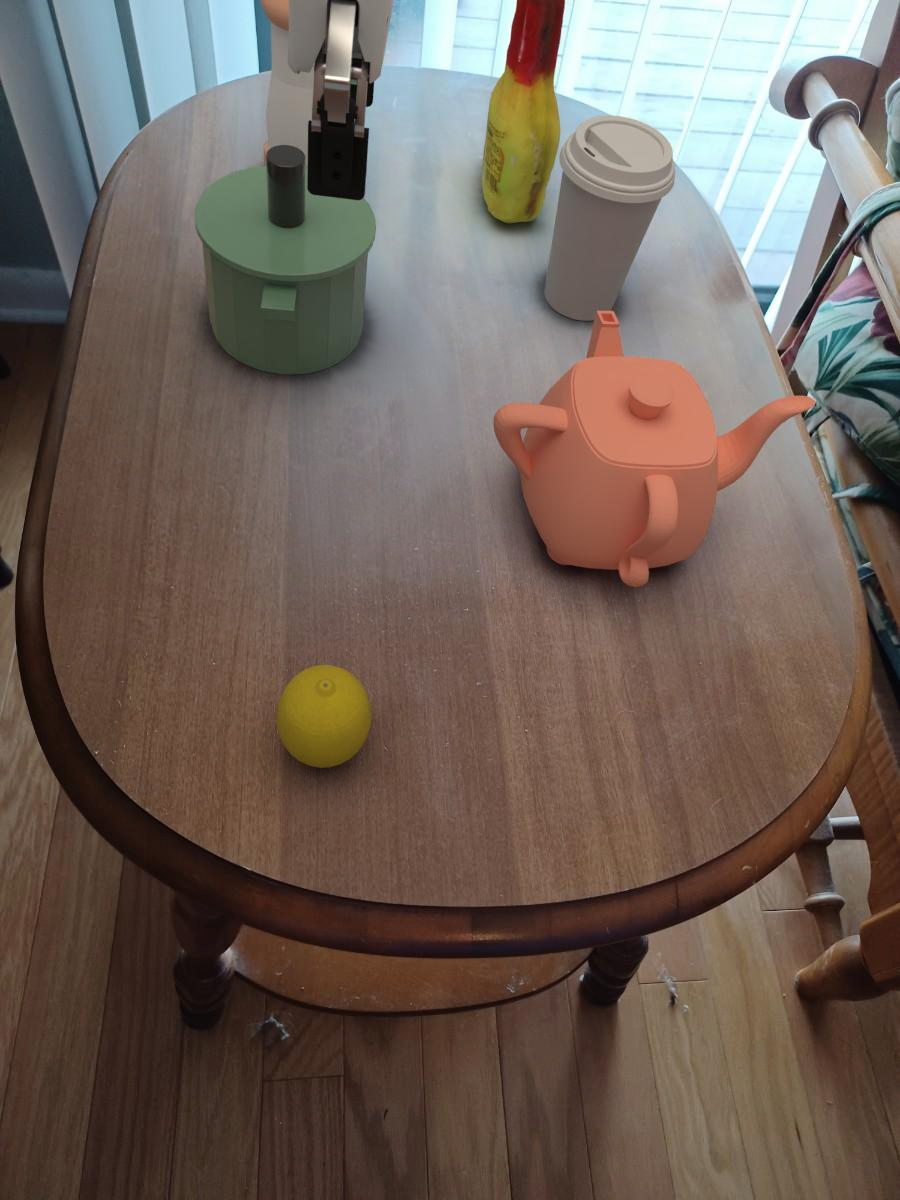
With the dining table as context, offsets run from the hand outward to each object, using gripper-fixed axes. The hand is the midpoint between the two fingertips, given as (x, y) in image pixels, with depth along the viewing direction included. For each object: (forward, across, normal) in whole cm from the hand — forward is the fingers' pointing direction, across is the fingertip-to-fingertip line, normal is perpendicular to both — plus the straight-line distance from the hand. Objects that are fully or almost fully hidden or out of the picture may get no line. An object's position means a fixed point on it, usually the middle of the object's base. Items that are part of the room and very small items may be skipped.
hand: (341, 146), depth 56 cm
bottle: (+23, -32, +15) cm, 42 cm away
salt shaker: (+23, -31, -5) cm, 39 cm away
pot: (+23, -11, -4) cm, 25 cm away
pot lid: (+13, -11, -4) cm, 17 cm away
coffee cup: (+23, -18, +22) cm, 36 cm away
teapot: (+23, +7, +22) cm, 33 cm away
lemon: (+23, +28, +2) cm, 36 cm away
